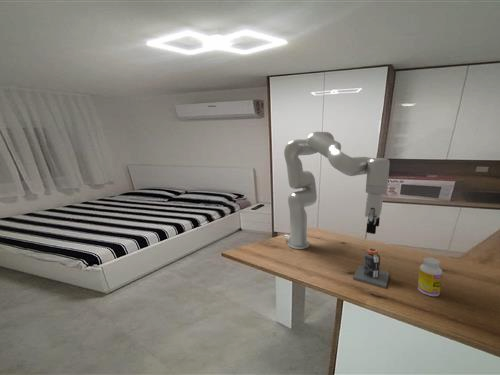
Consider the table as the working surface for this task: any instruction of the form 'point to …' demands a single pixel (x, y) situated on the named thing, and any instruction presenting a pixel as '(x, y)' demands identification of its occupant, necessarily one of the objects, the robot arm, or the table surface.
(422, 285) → the supplement bottle
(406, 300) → the table surface
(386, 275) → the plate
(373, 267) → the pill bottle
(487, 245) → the table surface
